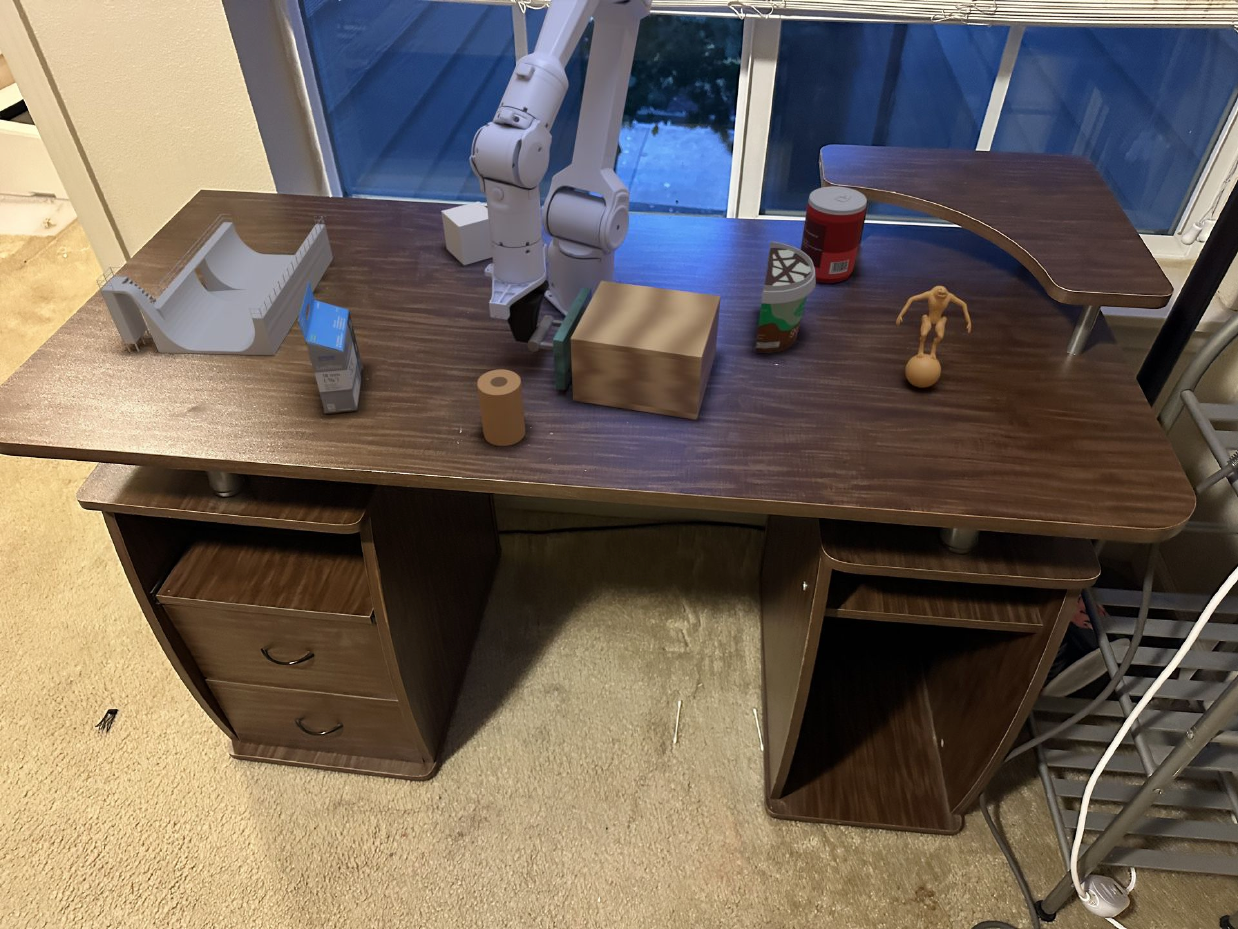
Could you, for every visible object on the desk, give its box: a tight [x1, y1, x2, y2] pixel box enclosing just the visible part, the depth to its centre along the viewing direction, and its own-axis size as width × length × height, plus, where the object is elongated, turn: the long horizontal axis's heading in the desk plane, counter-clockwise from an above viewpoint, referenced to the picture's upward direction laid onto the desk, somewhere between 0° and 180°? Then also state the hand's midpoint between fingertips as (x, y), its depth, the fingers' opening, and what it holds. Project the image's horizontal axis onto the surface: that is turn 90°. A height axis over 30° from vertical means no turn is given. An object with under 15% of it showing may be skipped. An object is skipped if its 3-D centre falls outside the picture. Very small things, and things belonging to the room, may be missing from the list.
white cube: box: [440, 201, 493, 266], centre depth 124 cm, size 6×6×6 cm
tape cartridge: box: [297, 281, 364, 415], centre depth 97 cm, size 9×4×12 cm, turn 9°
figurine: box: [895, 285, 972, 389], centre depth 99 cm, size 8×6×12 cm
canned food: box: [800, 185, 868, 284], centre depth 119 cm, size 8×8×11 cm
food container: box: [754, 241, 817, 354], centre depth 107 cm, size 12×6×10 cm, turn 168°
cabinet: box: [571, 281, 722, 420], centre depth 100 cm, size 15×13×9 cm
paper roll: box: [476, 369, 526, 447], centre depth 93 cm, size 5×5×7 cm
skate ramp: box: [96, 213, 334, 356], centre depth 112 cm, size 25×19×10 cm
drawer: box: [526, 287, 592, 391], centre depth 101 cm, size 18×12×7 cm
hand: (524, 339), depth 104 cm, fingers closed, pressing on drawer
